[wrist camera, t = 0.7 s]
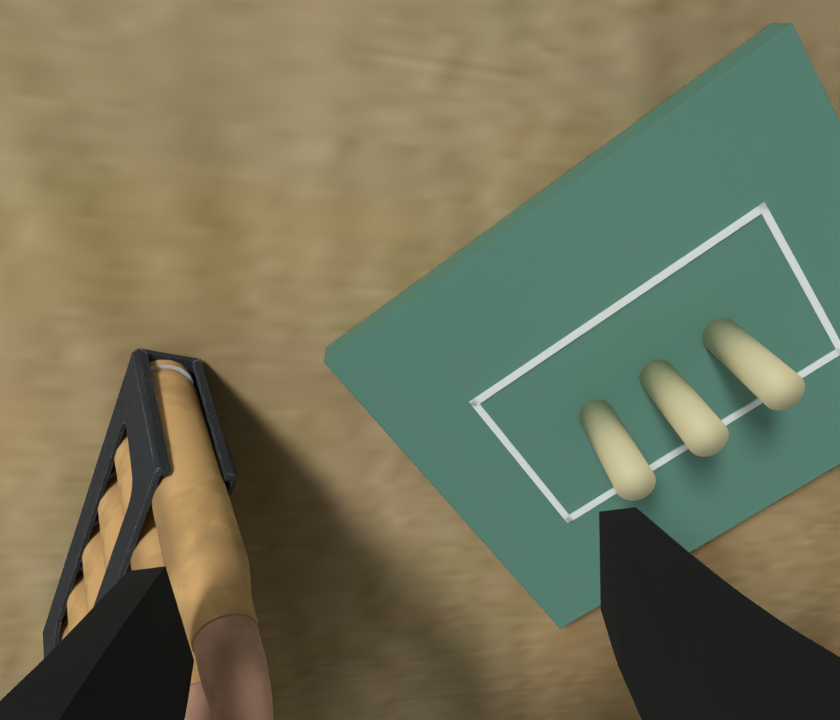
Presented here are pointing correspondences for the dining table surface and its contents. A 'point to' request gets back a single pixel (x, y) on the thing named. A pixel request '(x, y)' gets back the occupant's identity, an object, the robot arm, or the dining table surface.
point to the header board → (632, 332)
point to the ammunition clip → (171, 533)
